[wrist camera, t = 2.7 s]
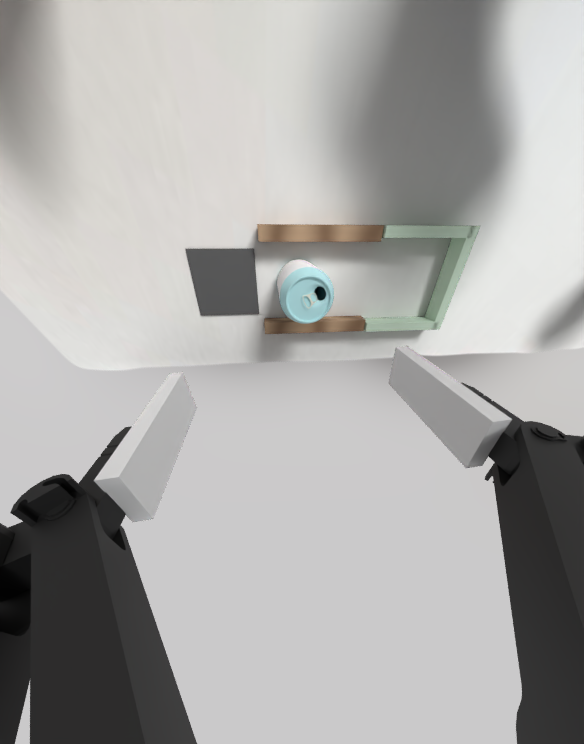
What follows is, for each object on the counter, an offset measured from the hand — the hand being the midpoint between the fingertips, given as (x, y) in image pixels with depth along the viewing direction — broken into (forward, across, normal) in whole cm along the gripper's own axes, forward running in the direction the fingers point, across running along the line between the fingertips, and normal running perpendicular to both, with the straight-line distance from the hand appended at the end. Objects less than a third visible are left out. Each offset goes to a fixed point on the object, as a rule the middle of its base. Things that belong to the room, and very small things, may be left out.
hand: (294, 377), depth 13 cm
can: (+27, +4, +1) cm, 28 cm away
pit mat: (+27, -8, +2) cm, 28 cm away
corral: (+26, +23, 0) cm, 35 cm away
